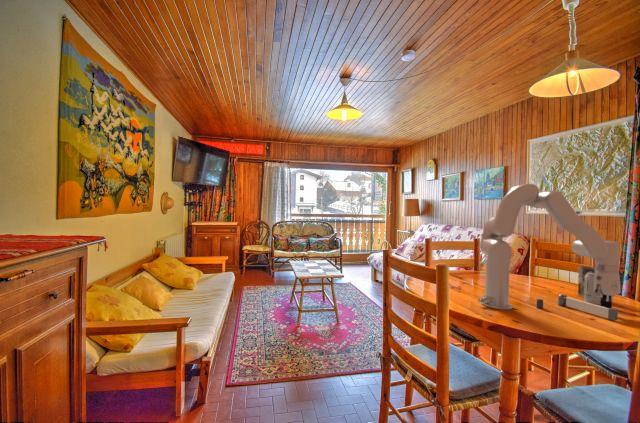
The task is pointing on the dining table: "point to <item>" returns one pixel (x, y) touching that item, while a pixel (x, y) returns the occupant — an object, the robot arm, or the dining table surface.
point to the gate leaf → (593, 308)
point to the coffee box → (583, 279)
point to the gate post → (562, 300)
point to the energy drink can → (590, 290)
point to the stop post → (539, 303)
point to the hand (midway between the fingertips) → (605, 309)
